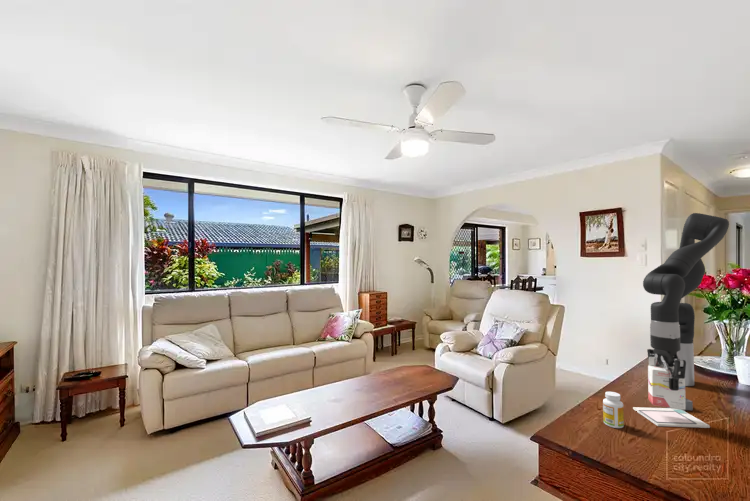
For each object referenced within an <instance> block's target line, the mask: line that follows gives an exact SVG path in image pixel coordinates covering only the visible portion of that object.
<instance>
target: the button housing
mask: <svg viewBox="0 0 750 501" xmlns="http://www.w3.org/2000/svg"><path fill="white" fill-rule="evenodd" d="M685 403H686V409H685V410H684V409H681V410H683V411H693V410H694V409H693V407H694V405H693V400H690V399H688V398H686V397H685ZM666 408H670V407H666Z"/></svg>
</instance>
